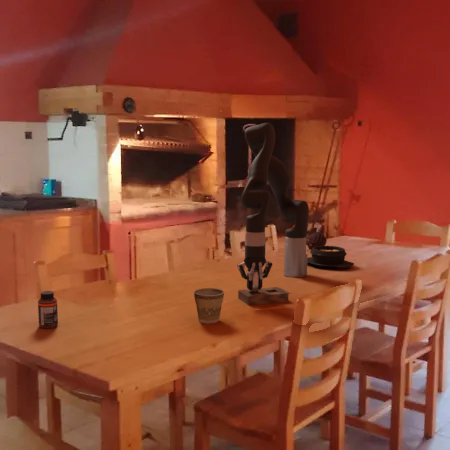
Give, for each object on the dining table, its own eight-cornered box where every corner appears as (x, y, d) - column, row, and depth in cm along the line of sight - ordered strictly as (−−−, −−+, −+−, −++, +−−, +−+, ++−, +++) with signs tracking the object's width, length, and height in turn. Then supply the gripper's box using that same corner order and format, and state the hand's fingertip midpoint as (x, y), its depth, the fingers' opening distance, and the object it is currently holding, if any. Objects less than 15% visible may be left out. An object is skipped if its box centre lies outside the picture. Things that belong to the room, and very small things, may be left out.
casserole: (294, 265, 300) (295, 247, 299) (315, 259, 314) (316, 242, 313) (341, 273, 284) (342, 254, 283) (361, 266, 298) (362, 249, 297)
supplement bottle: (40, 323, 207) (39, 289, 205) (59, 323, 208) (58, 289, 206) (37, 329, 201) (35, 294, 200) (56, 329, 202) (55, 294, 200)
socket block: (276, 295, 244) (277, 286, 244) (288, 302, 235) (288, 293, 235) (238, 299, 239) (238, 290, 238) (248, 306, 230) (248, 296, 229)
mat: (279, 288, 256) (279, 287, 256) (290, 294, 246) (290, 293, 246) (257, 290, 252) (257, 289, 252) (267, 296, 243) (267, 295, 243)
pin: (256, 296, 237) (257, 270, 236) (259, 298, 235) (260, 271, 233) (249, 296, 236) (249, 270, 235) (252, 298, 234) (252, 272, 232)
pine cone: (318, 247, 346) (319, 229, 344) (334, 249, 339) (334, 231, 338) (299, 251, 333) (299, 232, 331) (314, 254, 326) (315, 235, 325)
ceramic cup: (213, 327, 205) (213, 297, 204) (187, 321, 210) (187, 292, 209) (233, 317, 216) (234, 288, 214) (209, 312, 221) (209, 284, 220)
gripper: (268, 240, 238) (267, 285, 241) (233, 242, 234) (233, 288, 236) (277, 244, 231) (276, 290, 234) (241, 246, 227) (240, 293, 229)
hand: (254, 289), depth 235 cm, fingers closed on pin, 3 cm apart
